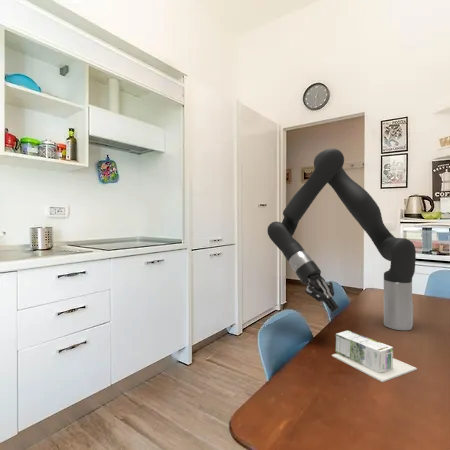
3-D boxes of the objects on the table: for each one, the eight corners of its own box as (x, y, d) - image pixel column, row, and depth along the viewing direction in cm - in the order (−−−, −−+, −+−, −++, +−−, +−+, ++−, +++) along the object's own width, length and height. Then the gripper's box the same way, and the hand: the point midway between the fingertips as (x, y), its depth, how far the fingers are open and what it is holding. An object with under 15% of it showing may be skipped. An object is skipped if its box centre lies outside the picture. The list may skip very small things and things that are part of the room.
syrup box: (347, 348, 91) (394, 368, 78) (334, 352, 88) (381, 374, 75) (347, 329, 91) (394, 346, 78) (334, 333, 88) (381, 351, 75)
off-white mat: (364, 347, 93) (364, 345, 93) (416, 369, 79) (416, 368, 79) (331, 356, 87) (331, 354, 87) (382, 382, 72) (382, 380, 72)
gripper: (298, 261, 97) (331, 307, 87) (322, 258, 105) (354, 300, 95) (285, 275, 101) (315, 320, 92) (309, 271, 109) (339, 312, 100)
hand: (335, 310), depth 94 cm, fingers closed
